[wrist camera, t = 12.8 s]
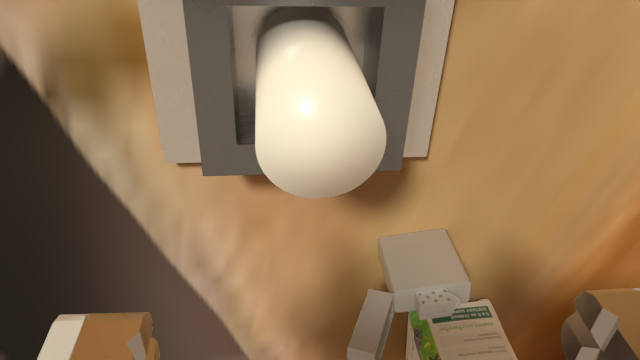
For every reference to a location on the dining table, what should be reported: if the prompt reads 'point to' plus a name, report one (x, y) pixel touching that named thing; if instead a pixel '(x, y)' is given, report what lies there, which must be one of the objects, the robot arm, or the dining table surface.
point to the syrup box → (459, 335)
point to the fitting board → (240, 73)
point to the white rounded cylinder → (313, 107)
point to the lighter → (410, 287)
